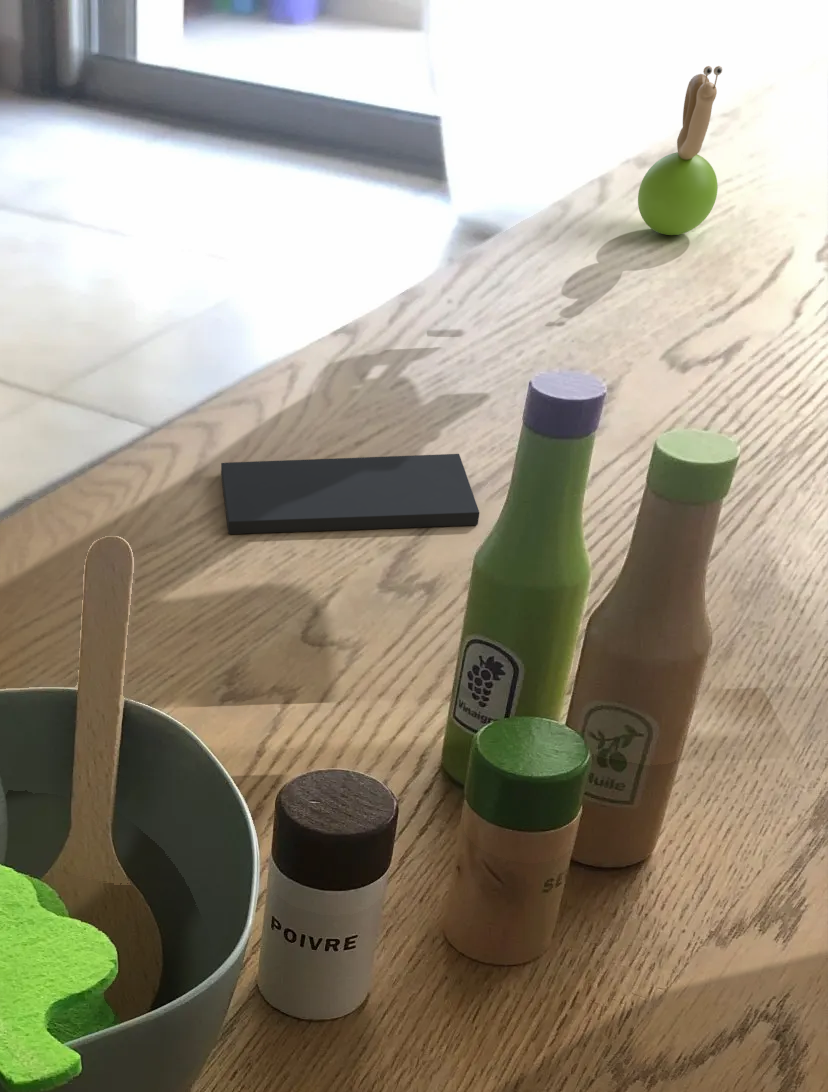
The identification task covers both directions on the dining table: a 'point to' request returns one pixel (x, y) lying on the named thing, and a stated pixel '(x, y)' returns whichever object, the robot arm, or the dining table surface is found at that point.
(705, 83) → the snail figurine
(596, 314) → the dining table surface
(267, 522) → the mat
